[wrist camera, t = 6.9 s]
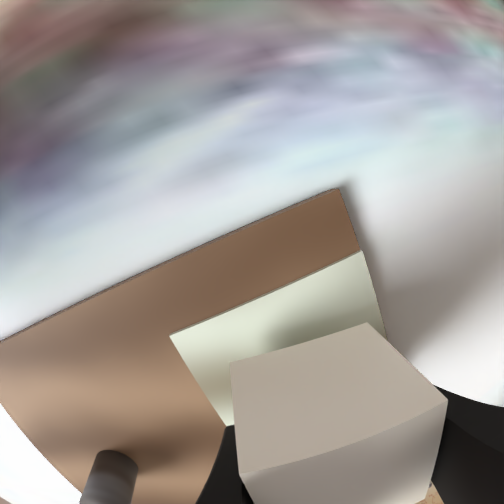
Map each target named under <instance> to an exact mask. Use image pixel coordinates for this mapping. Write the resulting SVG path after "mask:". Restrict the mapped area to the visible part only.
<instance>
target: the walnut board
mask: <svg viewBox="0 0 504 504" xmlns="http://www.w3.org/2000/svg"><path fill="white" fill-rule="evenodd" d="M366 322H368V323H369V324H370V325H371V326H372V327H373V328H374V329H375V330H376V331H377V332H378V333H379V334H380V335H381V336H382V337H384V338H385V339H386V340H387V336H386V332H385V328H384V324H383V320H382V316H381V312H380V309H379V305H378V301H377V298H376V294H375V291H374V287H373V284H372V280H371V277H370V274H369V270H368V267H367V264H366V261H365V257H364V254H363V251H361V250H360V247H359V244H358V241H357V238H356V235H355V232H354V229H353V227H352V224H351V221H350V218H349V215H348V212H347V209H346V207H345V204H344V201H343V198H342V196H341V193H340V190H339V189H330V190H328V191H325V192H323V193H321V194H318V195H316V196H313V197H311V198H309V199H306V200H304V201H302V202H299V203H297V204H294V205H292V206H290V207H287V208H285V209H283V210H280V211H278V212H276V213H273V214H271V215H269V216H266V217H264V218H262V219H260V220H257V221H255V222H253V223H250V224H248V225H246V226H243V227H241V228H239V229H237V230H234V231H232V232H230V233H228V234H225V235H223V236H221V237H219V238H216V239H214V240H212V241H210V242H207V243H205V244H203V245H201V246H198V247H196V248H194V249H192V250H190V251H187V252H185V253H183V254H181V255H179V256H176V257H174V258H172V259H170V260H168V261H165V262H163V263H161V264H159V265H157V266H155V267H152V268H150V269H148V270H146V271H144V272H142V273H139V274H137V275H135V276H133V277H131V278H129V279H127V280H124V281H122V282H120V283H118V284H116V285H114V286H112V287H110V288H107V289H105V290H103V291H101V292H99V293H97V294H95V295H93V296H91V297H89V298H87V299H84V300H82V301H80V302H78V303H76V304H74V305H72V306H70V307H68V308H66V309H64V310H62V311H60V312H58V313H56V314H54V315H52V316H50V317H48V318H46V319H44V320H42V321H40V322H38V323H36V324H34V325H32V326H30V327H28V328H26V329H24V330H22V331H20V332H18V333H16V334H14V335H12V336H10V337H8V338H6V339H4V340H2V341H0V403H1V404H2V406H3V407H4V409H5V410H6V411H7V413H8V414H9V415H10V417H11V418H12V419H13V420H14V422H15V423H16V424H17V426H18V427H19V428H20V429H21V430H22V432H23V433H24V434H25V435H26V437H27V438H28V439H29V440H30V441H31V442H32V444H33V445H34V446H35V447H36V448H37V449H38V450H39V451H40V452H41V454H42V455H43V456H44V457H45V458H46V459H47V460H48V461H49V462H50V463H51V464H52V465H53V466H54V467H55V468H56V469H57V470H58V471H59V472H60V473H61V474H62V475H63V476H64V477H65V478H66V479H67V480H68V481H69V482H70V483H71V484H72V485H73V486H74V487H75V488H77V489H78V490H79V491H80V492H81V493H82V496H81V499H80V504H195V503H196V501H197V499H198V497H199V496H200V494H201V492H202V489H203V487H204V485H205V483H206V481H207V479H208V477H209V475H210V472H211V470H212V467H213V465H214V462H215V459H216V457H217V454H218V451H219V448H220V445H221V441H222V438H223V434H224V430H225V428H226V427H227V426H230V425H234V413H233V400H232V388H231V374H230V362H233V361H237V360H241V359H245V358H249V357H253V356H257V355H261V354H265V353H268V352H272V351H276V350H279V349H283V348H287V347H290V346H294V345H297V344H301V343H304V342H307V341H311V340H314V339H317V338H321V337H324V336H327V335H330V334H333V333H336V332H339V331H343V330H346V329H349V328H352V327H355V326H358V325H360V324H363V323H366ZM387 341H388V340H387Z"/></svg>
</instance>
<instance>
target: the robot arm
mask: <svg viewBox="0 0 504 504" xmlns="http://www.w3.org/2000/svg"><path fill="white" fill-rule="evenodd" d="M434 386H435V385H434ZM435 387H436V388H437V389H438V390H439V391H440V392H441V393H442V394H443V395H444V396H445V397H446V398H447V399H448V404H447V410H446V416H445V421H444V426H443V432H442V436H441V441H440V445H439V450H438V454H437V458H436V462H435V466H434V470H433V473H432V477H431V482H432V483H433V485H434V486H435V488H436V490H437V492H438V494H439V495H440V497H441V499H442V501H443V503H444V504H504V407H498V406H494V405H489V404H485V403H481V402H477V401H474V400H471V399H468V398H465V397H462V396H459V395H457V394H454V393H451V392H449V391H446V390H444V389H442V388H439V387H437V386H435ZM195 504H254V502H253V500H252V498H251V497H250V495H249V493H248V491H247V489H246V487H245V485H244V483H243V481H242V479H241V477H240V475H239V469H238V458H237V448H236V436H235V425H230V426H227V427H226V428H225V430H224V434H223V438H222V441H221V445H220V448H219V451H218V454H217V457H216V459H215V462H214V465H213V467H212V470H211V472H210V475H209V477H208V479H207V481H206V483H205V485H204V487H203V489H202V492H201V494H200V496H199V497H198V499H197V501H196V503H195Z"/></svg>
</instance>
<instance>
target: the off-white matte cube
mask: <svg viewBox="0 0 504 504" xmlns="http://www.w3.org/2000/svg"><path fill="white" fill-rule="evenodd" d="M230 374H231V388H232V400H233V413H234V425H235V436H236V448H237V458H238V469H239V475H240V477H241V479H242V481H243V483H244V485H245V487H246V489H247V491H248V493H249V495H250V497H251V498H252V500H253V502H254V504H415V503H417V502H419V501H421V500H423V499H425V497H426V494H427V490H428V487H429V484H430V480H431V477H432V473H433V470H434V466H435V462H436V458H437V454H438V450H439V445H440V441H441V436H442V432H443V426H444V421H445V416H446V410H447V404H448V399H447V398H446V397H445V396H444V395H443V394H442V393H441V392H440V391H439V390H438V389H437V388H436V387H435V386H434V385H433V384H432V383H431V382H429V381H428V380H427V379H426V378H425V377H424V376H423V375H422V374H421V373H420V372H419V371H418V370H417V369H416V368H415V367H414V366H413V365H412V364H411V363H410V362H409V361H408V360H407V359H406V358H405V357H404V356H402V355H401V354H400V353H399V352H398V351H397V350H396V349H395V348H394V347H393V346H392V345H391V344H390V343H389V342H388V341H387V340H386V339H385V338H384V337H382V336H381V335H380V334H379V333H378V332H377V331H376V330H375V329H374V328H373V327H372V326H371V325H370V324H369V323H368V322H366V323H363V324H360V325H358V326H355V327H352V328H349V329H346V330H343V331H339V332H336V333H333V334H330V335H327V336H324V337H321V338H317V339H314V340H311V341H307V342H304V343H301V344H297V345H294V346H290V347H287V348H283V349H279V350H276V351H272V352H268V353H265V354H261V355H257V356H253V357H249V358H245V359H241V360H237V361H233V362H230Z"/></svg>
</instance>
